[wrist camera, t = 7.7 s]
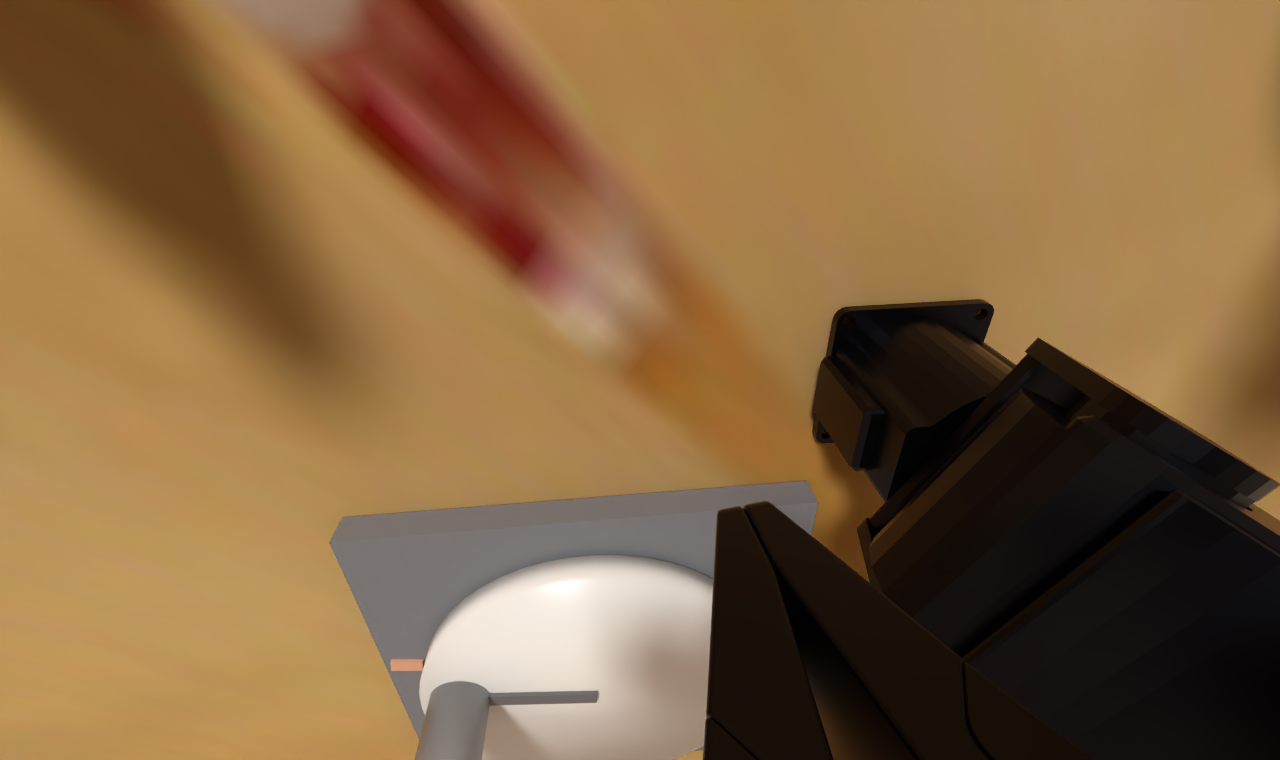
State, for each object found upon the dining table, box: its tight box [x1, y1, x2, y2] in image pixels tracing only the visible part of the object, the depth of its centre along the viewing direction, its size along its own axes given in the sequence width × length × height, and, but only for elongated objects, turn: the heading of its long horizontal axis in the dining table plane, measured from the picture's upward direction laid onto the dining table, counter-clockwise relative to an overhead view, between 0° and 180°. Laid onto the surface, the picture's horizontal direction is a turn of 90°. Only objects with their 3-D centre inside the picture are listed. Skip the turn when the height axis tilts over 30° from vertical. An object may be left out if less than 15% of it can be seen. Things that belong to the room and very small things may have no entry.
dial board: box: [329, 481, 818, 751], centre depth 30 cm, size 22×22×2 cm
